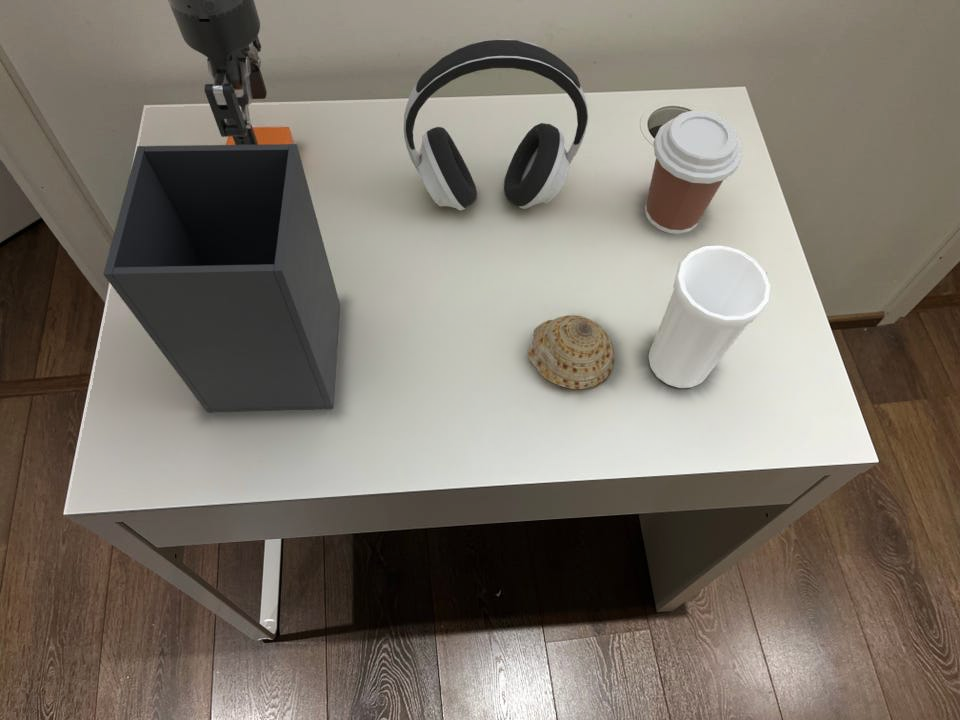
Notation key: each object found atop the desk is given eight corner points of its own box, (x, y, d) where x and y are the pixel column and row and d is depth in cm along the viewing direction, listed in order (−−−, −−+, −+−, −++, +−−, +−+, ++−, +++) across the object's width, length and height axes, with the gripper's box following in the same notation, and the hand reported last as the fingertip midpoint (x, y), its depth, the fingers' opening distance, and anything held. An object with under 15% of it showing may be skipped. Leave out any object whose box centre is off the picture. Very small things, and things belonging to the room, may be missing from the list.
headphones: (411, 227, 79) (397, 80, 62) (408, 172, 84) (395, 20, 66) (577, 219, 81) (610, 72, 63) (567, 165, 85) (595, 14, 67)
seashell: (515, 322, 71) (588, 290, 69) (531, 343, 76) (600, 314, 74) (538, 392, 67) (616, 360, 65) (554, 410, 72) (627, 381, 70)
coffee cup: (617, 201, 82) (641, 121, 72) (678, 172, 85) (709, 91, 74) (665, 254, 78) (697, 178, 68) (727, 223, 81) (767, 145, 70)
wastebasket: (206, 412, 68) (102, 274, 48) (223, 307, 74) (137, 145, 54) (333, 408, 68) (282, 270, 49) (340, 304, 74) (296, 143, 54)
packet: (233, 174, 83) (224, 152, 80) (237, 149, 85) (229, 127, 82) (292, 173, 83) (286, 151, 80) (295, 148, 85) (289, 126, 82)
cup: (622, 355, 72) (656, 273, 60) (677, 316, 75) (721, 229, 62) (678, 413, 69) (726, 338, 56) (734, 370, 72) (792, 289, 59)
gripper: (179, -58, 68) (228, 80, 82) (152, 37, 61) (211, 171, 75) (256, -59, 68) (292, 80, 82) (239, 37, 61) (281, 169, 76)
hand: (253, 123), depth 79 cm, fingers open, 8 cm apart
